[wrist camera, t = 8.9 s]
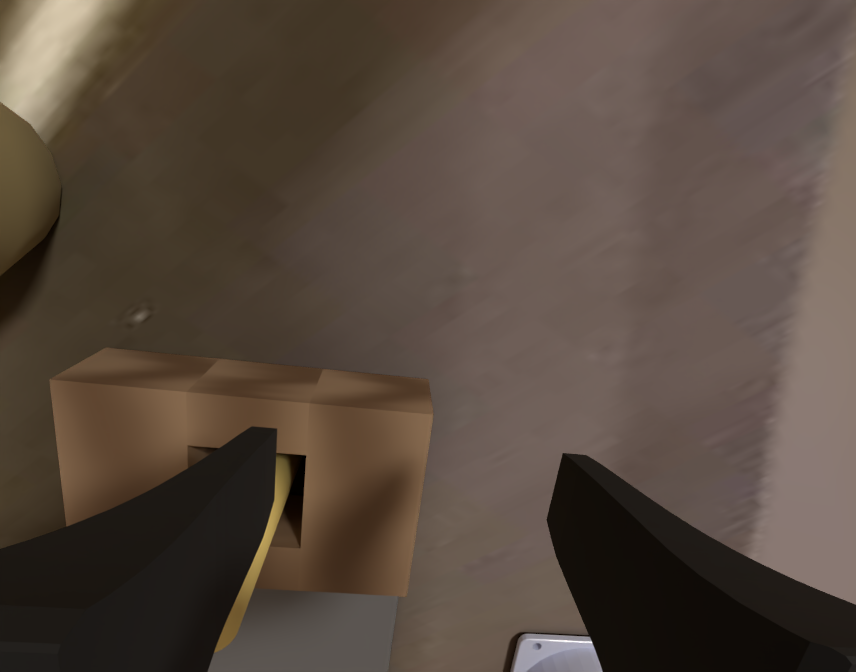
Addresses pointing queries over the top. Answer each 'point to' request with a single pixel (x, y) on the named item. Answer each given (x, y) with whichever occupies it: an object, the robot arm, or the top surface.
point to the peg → (261, 545)
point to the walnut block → (296, 434)
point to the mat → (311, 633)
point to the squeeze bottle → (24, 188)
